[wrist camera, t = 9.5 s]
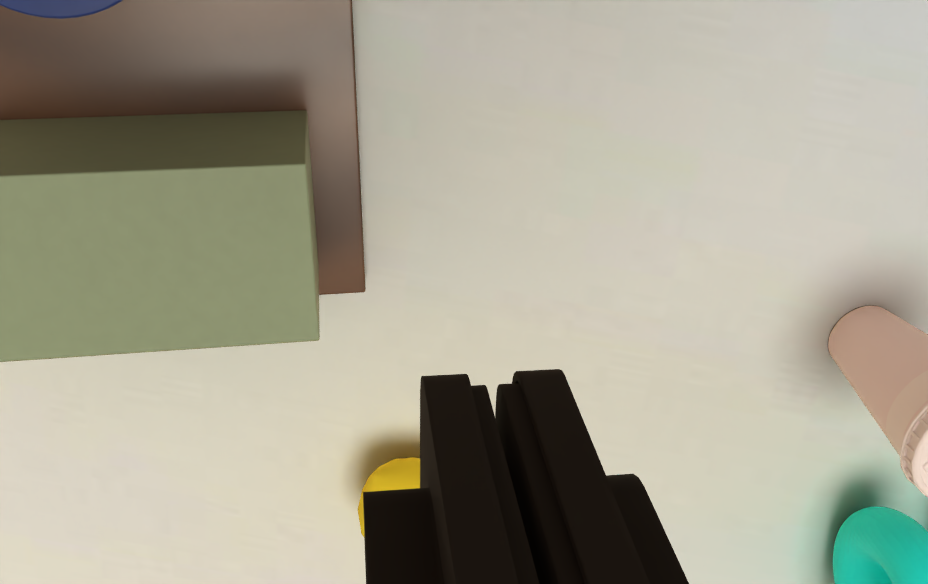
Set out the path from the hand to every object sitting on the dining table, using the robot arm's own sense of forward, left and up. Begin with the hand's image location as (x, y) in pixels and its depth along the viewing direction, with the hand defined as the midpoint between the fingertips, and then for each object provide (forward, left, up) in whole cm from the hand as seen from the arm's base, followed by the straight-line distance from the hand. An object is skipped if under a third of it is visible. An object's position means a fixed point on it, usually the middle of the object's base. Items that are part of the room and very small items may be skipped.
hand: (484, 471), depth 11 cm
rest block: (+7, -8, -27) cm, 29 cm away
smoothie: (+17, +26, -29) cm, 42 cm away
